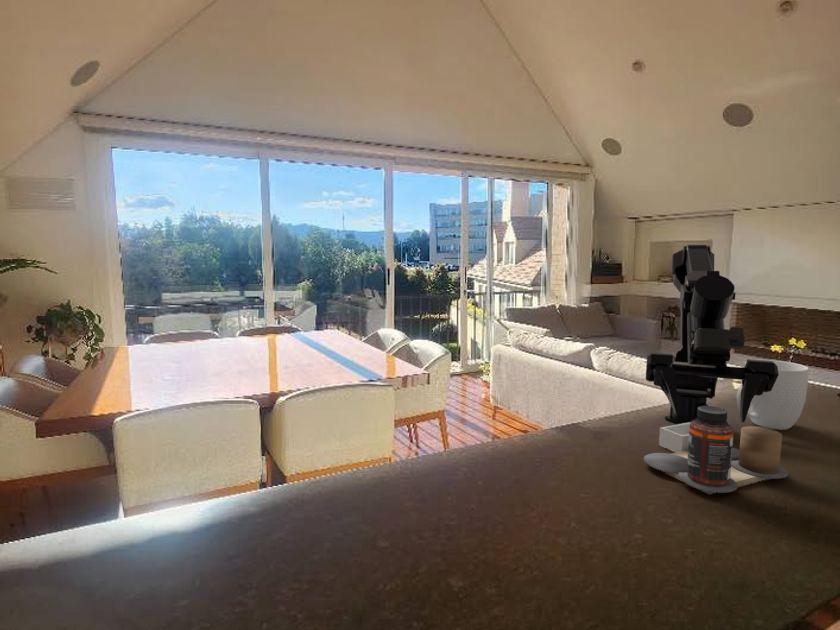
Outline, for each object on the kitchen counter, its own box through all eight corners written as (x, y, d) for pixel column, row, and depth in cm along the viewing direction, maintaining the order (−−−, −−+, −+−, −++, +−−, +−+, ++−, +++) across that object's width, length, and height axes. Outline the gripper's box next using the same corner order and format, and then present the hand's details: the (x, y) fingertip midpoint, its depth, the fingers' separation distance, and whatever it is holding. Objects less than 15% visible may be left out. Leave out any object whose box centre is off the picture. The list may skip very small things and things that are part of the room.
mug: (762, 438, 99) (767, 373, 97) (714, 420, 109) (718, 362, 108) (816, 430, 103) (822, 368, 102) (765, 414, 114) (770, 357, 112)
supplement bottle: (739, 484, 77) (745, 413, 75) (709, 490, 75) (715, 417, 73) (705, 468, 82) (710, 402, 81) (677, 474, 80) (682, 405, 79)
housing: (658, 445, 95) (659, 427, 95) (689, 439, 99) (690, 422, 98) (681, 455, 91) (682, 436, 90) (712, 448, 94) (713, 430, 94)
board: (633, 463, 87) (635, 423, 86) (713, 446, 95) (716, 409, 94) (712, 503, 73) (715, 456, 73) (798, 479, 81) (803, 436, 80)
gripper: (650, 306, 86) (647, 385, 77) (781, 311, 78) (794, 399, 70) (646, 343, 94) (644, 418, 85) (765, 350, 86) (775, 434, 78)
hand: (709, 417), depth 79 cm, fingers open, 9 cm apart
